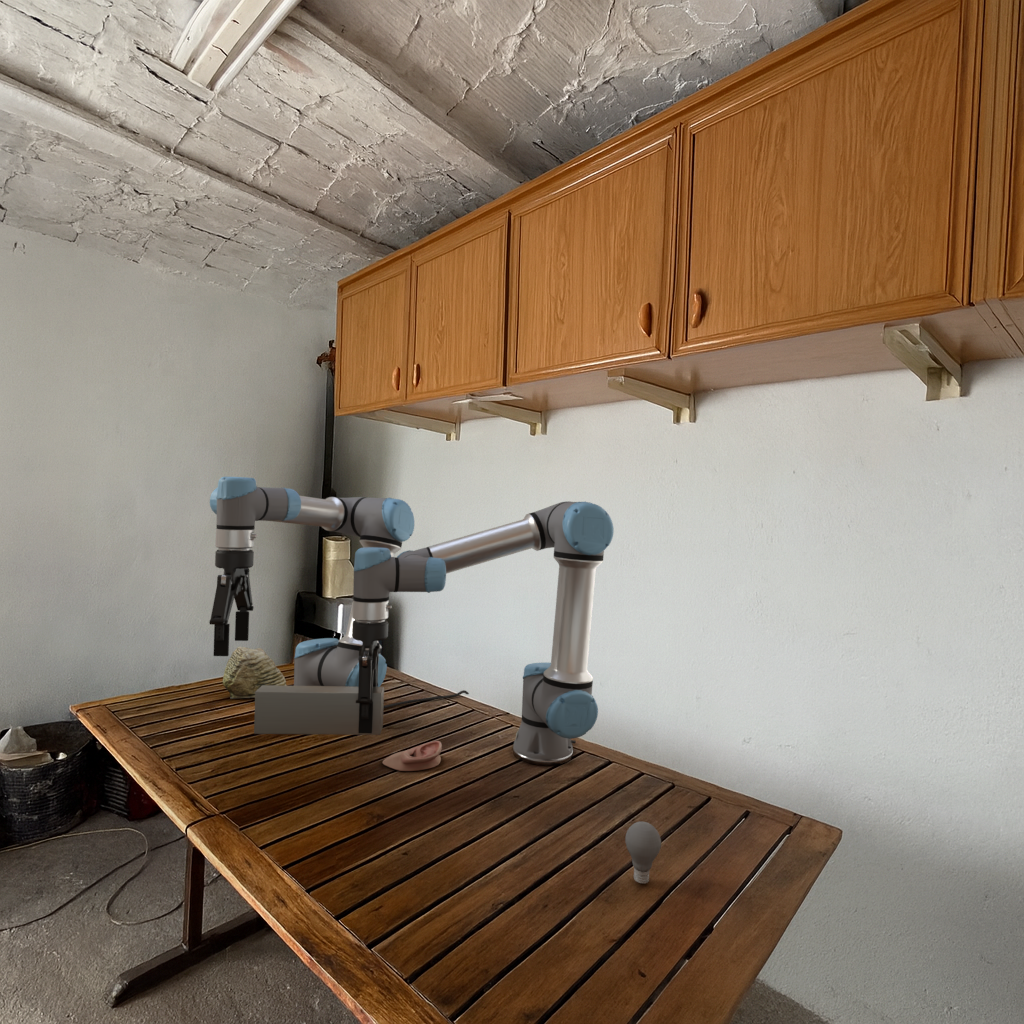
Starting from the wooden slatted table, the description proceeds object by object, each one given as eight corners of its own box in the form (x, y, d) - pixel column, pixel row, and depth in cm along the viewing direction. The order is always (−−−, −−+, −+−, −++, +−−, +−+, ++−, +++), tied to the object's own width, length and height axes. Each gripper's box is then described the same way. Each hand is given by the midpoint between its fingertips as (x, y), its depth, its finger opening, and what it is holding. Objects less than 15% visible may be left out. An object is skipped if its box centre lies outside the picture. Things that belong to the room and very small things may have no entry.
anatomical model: (377, 751, 149) (396, 733, 160) (377, 767, 149) (395, 749, 160) (431, 758, 146) (446, 740, 157) (430, 775, 146) (445, 756, 157)
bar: (253, 734, 132) (255, 691, 132) (261, 726, 136) (262, 685, 136) (380, 735, 134) (381, 693, 134) (382, 727, 138) (384, 686, 138)
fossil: (218, 695, 195) (220, 647, 195) (278, 685, 208) (279, 640, 207) (228, 703, 189) (230, 653, 188) (289, 692, 201) (290, 645, 201)
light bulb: (619, 871, 111) (622, 814, 111) (652, 871, 112) (655, 814, 111) (628, 892, 105) (631, 832, 105) (663, 892, 106) (666, 832, 105)
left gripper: (234, 555, 123) (231, 663, 124) (268, 544, 148) (265, 635, 149) (194, 553, 122) (190, 662, 123) (235, 543, 147) (232, 634, 148)
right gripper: (383, 628, 127) (379, 744, 127) (392, 612, 144) (389, 714, 145) (344, 628, 126) (341, 744, 127) (359, 612, 144) (356, 713, 144)
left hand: (231, 647), depth 136 cm, fingers open, 13 cm apart
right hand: (367, 727), depth 136 cm, fingers closed on bar, 5 cm apart
